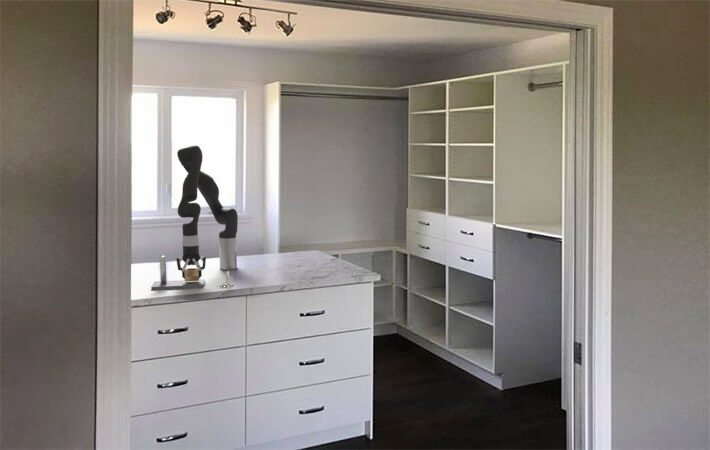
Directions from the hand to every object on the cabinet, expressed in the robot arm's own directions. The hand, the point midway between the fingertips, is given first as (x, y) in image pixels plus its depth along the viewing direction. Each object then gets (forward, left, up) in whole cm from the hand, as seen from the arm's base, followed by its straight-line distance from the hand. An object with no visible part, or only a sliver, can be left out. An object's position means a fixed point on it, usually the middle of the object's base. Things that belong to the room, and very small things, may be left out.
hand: (192, 278), depth 307 cm
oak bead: (0, 0, -1) cm, 1 cm away
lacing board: (+6, 0, -4) cm, 7 cm away
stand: (-16, +5, -4) cm, 17 cm away
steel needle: (+13, 0, -2) cm, 13 cm away
